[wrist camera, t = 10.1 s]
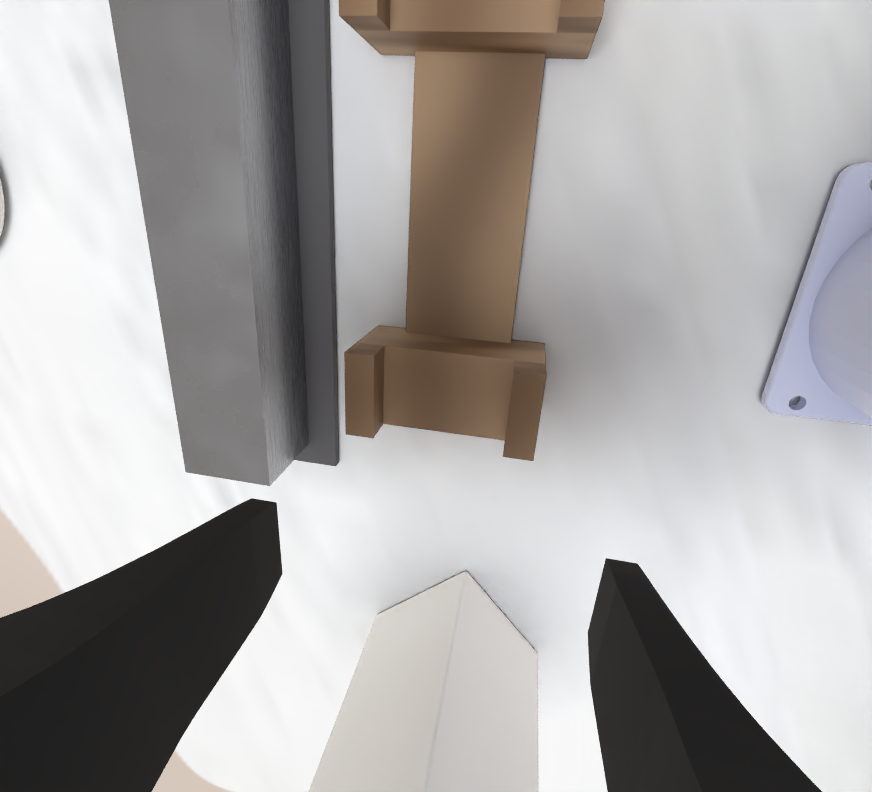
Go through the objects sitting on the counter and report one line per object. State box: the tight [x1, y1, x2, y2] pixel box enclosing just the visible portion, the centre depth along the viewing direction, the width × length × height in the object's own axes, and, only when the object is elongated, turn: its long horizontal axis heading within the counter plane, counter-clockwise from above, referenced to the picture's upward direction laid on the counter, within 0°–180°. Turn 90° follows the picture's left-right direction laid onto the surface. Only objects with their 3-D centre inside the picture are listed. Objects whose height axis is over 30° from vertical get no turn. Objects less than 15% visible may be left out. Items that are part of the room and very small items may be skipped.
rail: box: [109, 0, 309, 486], centre depth 16 cm, size 4×20×4 cm, turn 177°
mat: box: [288, 0, 339, 466], centre depth 18 cm, size 6×22×1 cm, turn 177°
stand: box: [339, 0, 605, 461], centre depth 15 cm, size 6×16×4 cm, turn 177°
